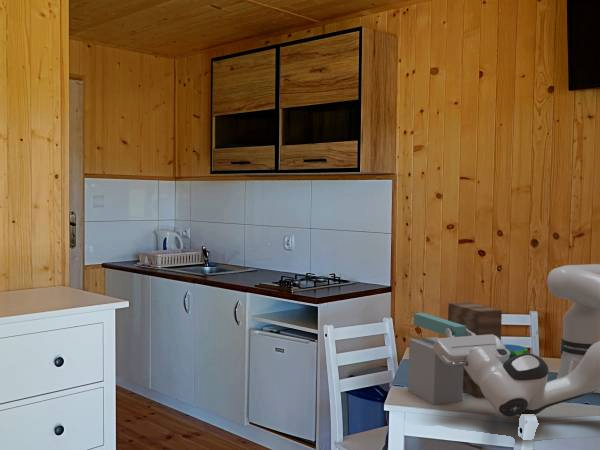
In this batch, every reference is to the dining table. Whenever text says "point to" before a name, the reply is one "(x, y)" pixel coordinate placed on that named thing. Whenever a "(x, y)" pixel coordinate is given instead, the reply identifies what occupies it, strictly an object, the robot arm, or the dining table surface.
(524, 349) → the snack cup
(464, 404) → the dining table surface
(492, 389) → the robot arm
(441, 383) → the base block
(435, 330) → the batten
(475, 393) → the walnut stand
